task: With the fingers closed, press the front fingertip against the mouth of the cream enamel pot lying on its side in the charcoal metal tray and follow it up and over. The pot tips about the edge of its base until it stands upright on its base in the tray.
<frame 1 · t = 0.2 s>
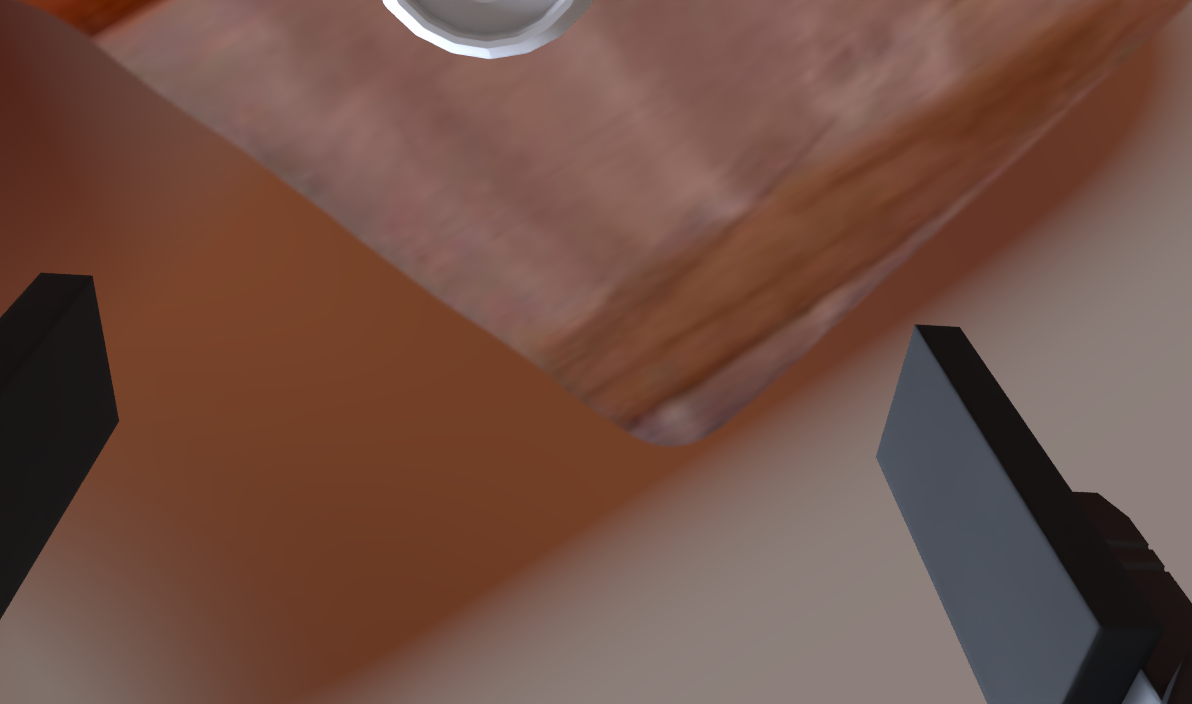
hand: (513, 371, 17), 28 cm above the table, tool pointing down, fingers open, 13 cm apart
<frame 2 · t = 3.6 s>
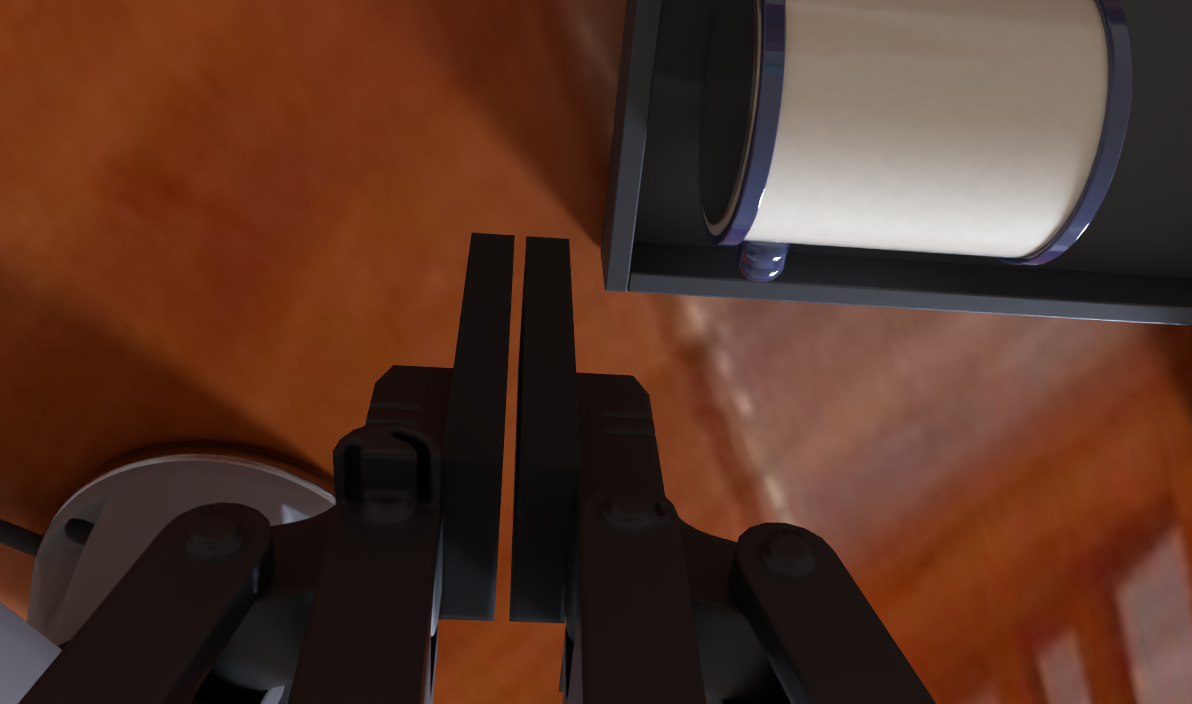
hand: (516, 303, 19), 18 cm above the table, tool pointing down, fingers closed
tray: (986, 74, 36), on the table
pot: (1046, 122, 32), point 5 cm above the table, touching tray
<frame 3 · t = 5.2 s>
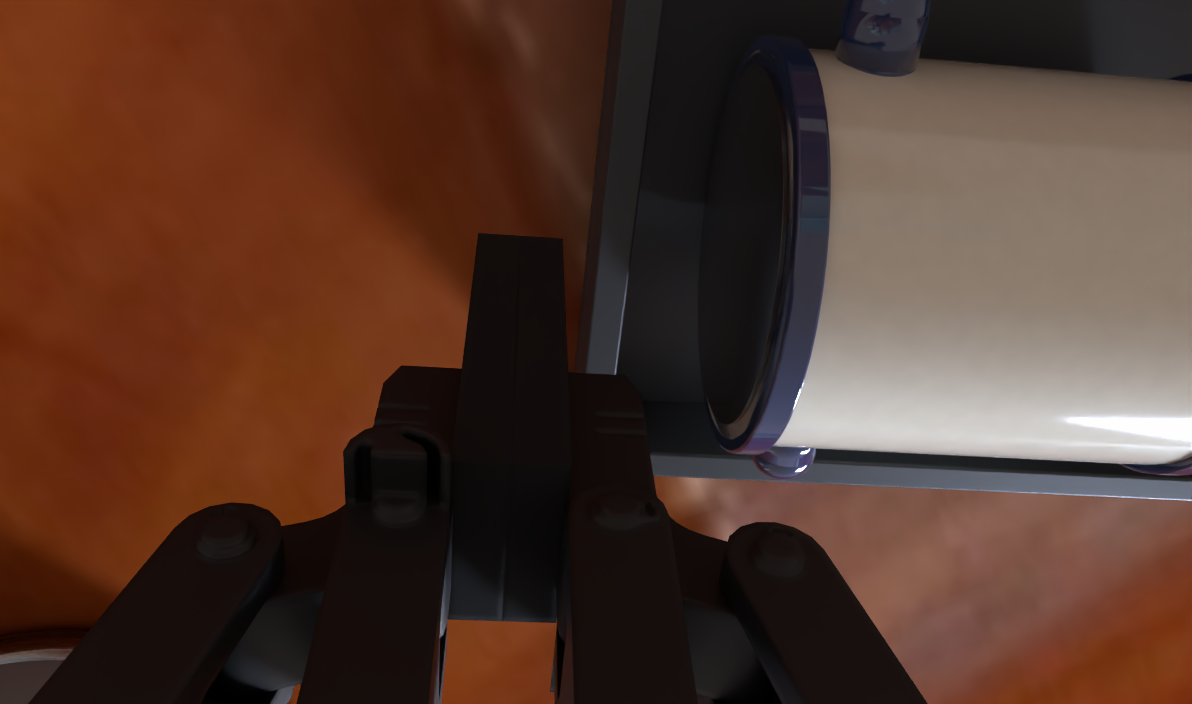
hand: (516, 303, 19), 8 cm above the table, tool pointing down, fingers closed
tray: (1076, 190, 27), on the table
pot: (1177, 277, 23), point 5 cm above the table, touching tray
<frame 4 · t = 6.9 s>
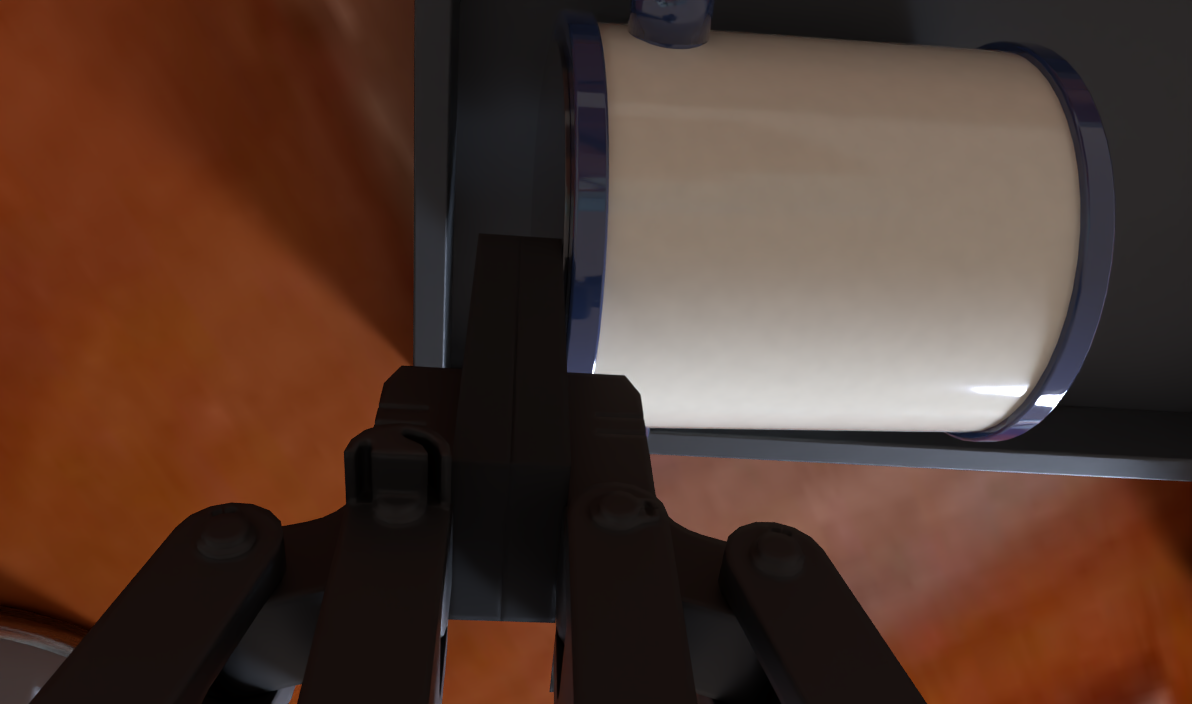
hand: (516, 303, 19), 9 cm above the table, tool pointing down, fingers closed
tray: (911, 163, 27), on the table
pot: (991, 245, 23), point 5 cm above the table, touching gripper, tray
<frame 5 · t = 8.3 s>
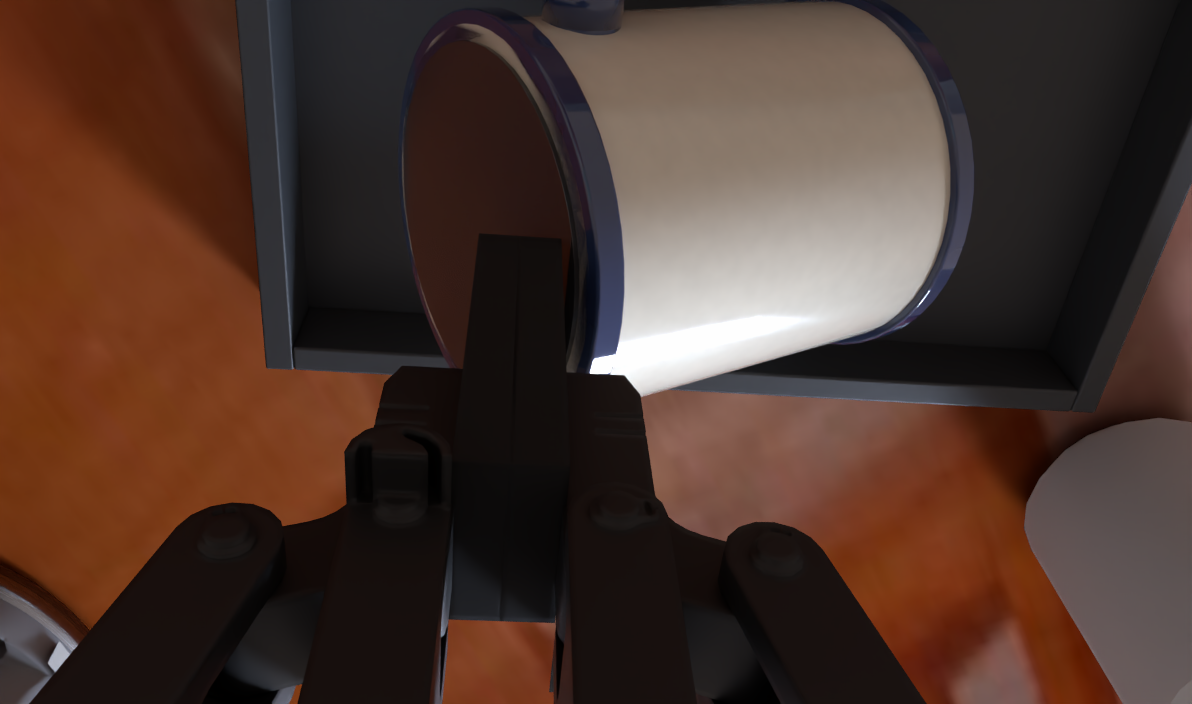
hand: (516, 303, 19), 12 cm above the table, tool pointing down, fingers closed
tray: (721, 110, 30), on the table
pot: (831, 172, 26), point 4 cm above the table, tilted 30°, touching gripper, tray
can: (1113, 483, 38), on the table
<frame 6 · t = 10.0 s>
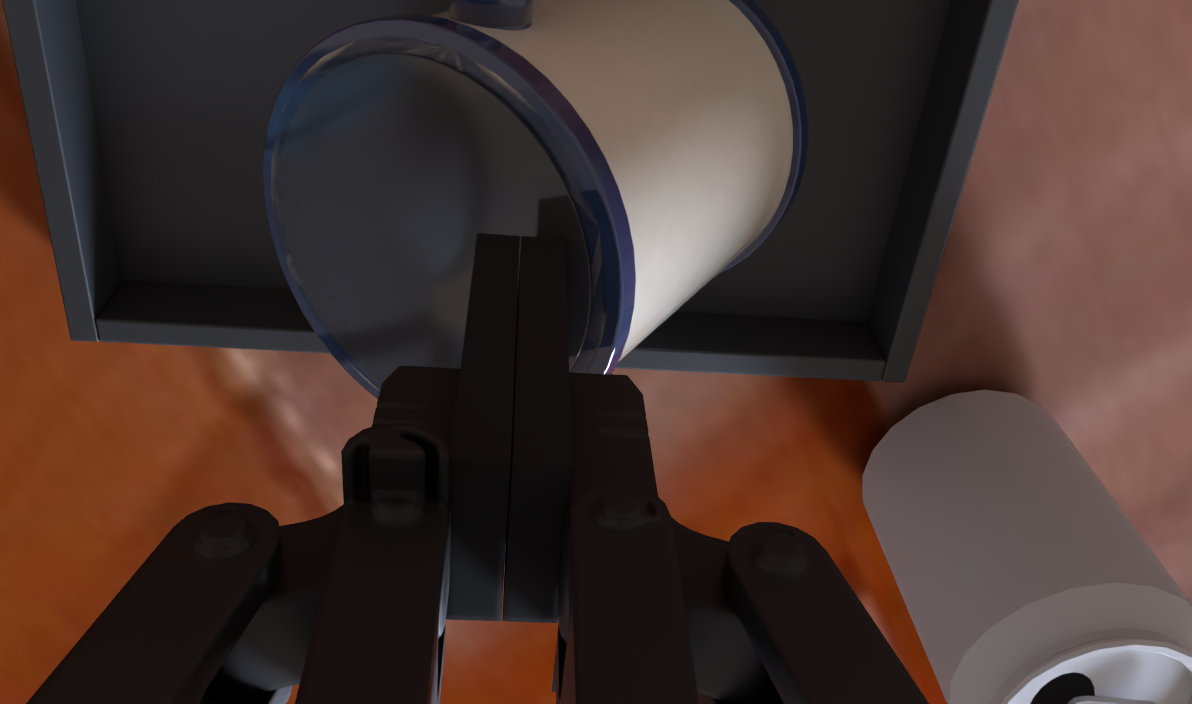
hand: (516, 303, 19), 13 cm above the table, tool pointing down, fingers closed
tray: (518, 83, 30), on the table
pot: (653, 125, 28), point 3 cm above the table, tilted 57°, touching gripper, tray
can: (952, 456, 39), on the table
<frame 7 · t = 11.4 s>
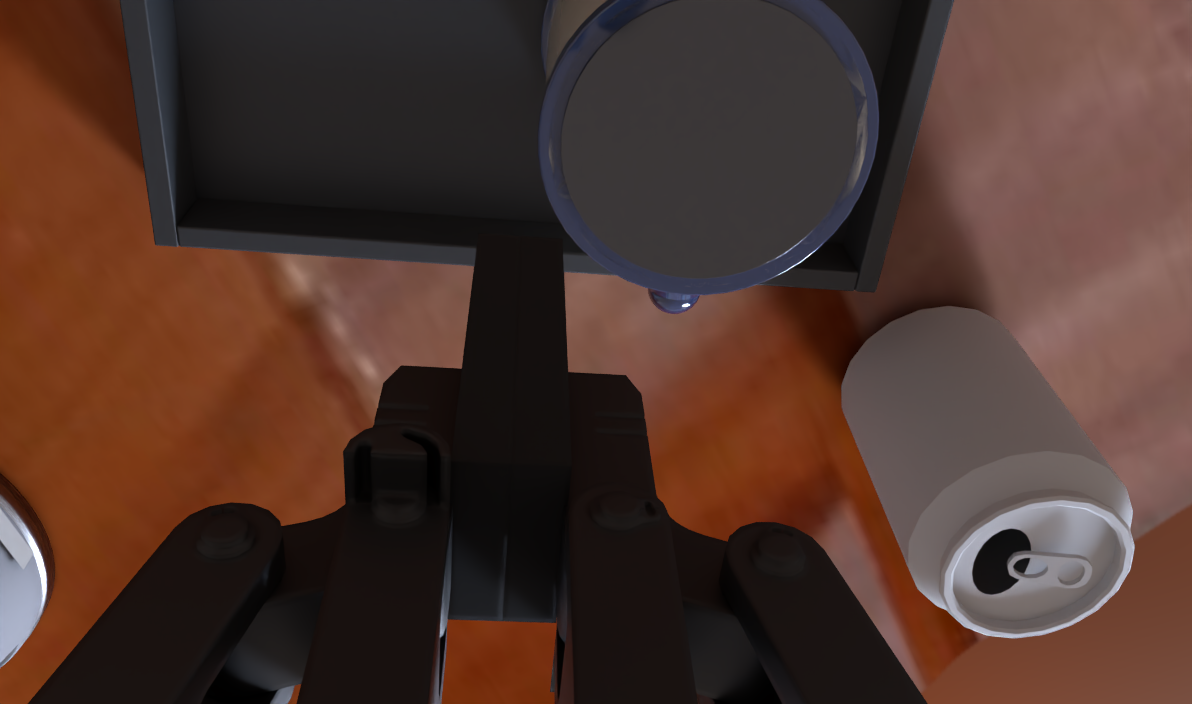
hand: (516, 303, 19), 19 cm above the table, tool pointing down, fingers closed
tray: (540, 25, 35), on the table
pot: (670, 40, 35), point 1 cm above the table, tilted 90°, touching tray
can: (923, 370, 43), on the table
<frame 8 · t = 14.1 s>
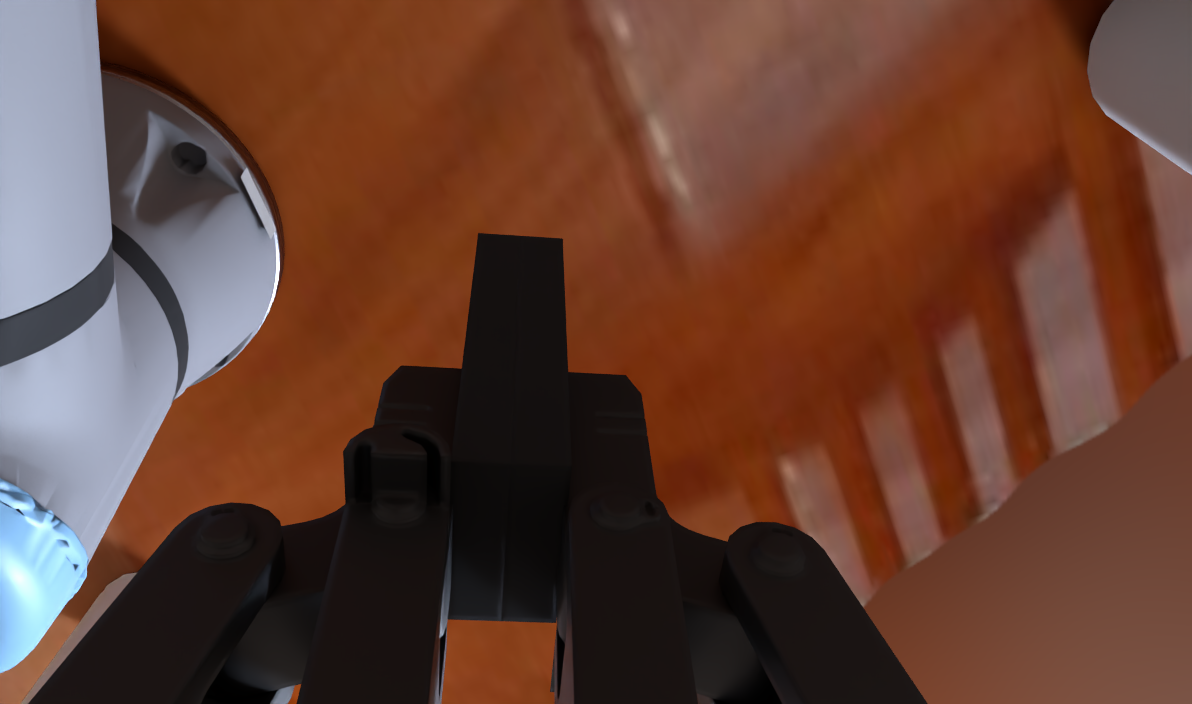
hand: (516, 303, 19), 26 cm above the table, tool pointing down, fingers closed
foam cup: (158, 609, 58), on the table
can: (1164, 37, 44), on the table
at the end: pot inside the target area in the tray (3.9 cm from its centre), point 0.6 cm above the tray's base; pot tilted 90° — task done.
